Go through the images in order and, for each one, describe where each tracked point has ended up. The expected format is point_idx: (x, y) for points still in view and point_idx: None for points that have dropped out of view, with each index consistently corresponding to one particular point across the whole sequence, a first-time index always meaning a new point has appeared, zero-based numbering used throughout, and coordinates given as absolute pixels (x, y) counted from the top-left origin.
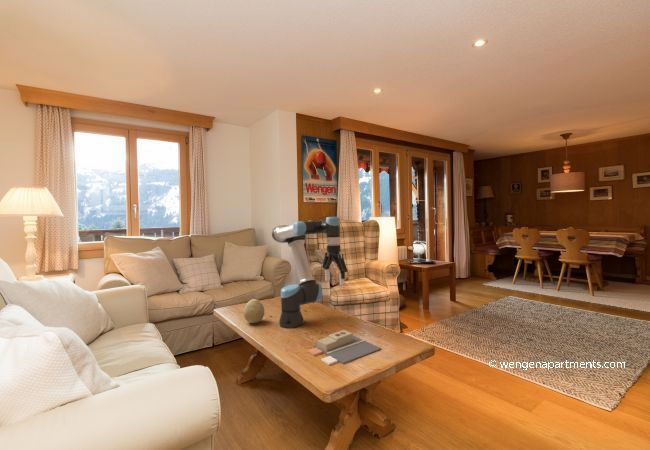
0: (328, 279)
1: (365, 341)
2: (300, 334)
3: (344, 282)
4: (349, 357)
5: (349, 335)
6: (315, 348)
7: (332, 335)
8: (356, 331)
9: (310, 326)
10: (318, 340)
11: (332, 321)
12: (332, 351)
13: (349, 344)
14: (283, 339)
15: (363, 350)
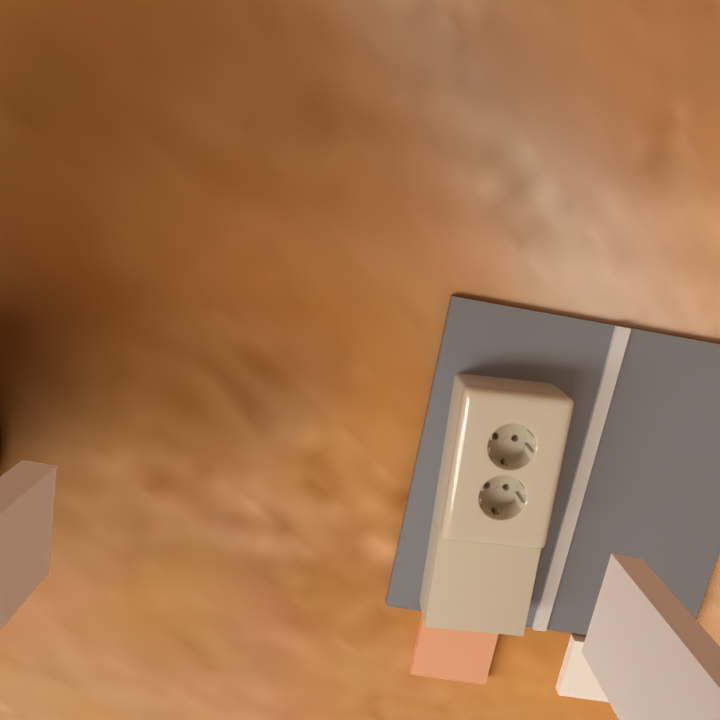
0: (37, 519)
1: (635, 335)
2: (149, 523)
3: (664, 587)
4: (680, 582)
5: (566, 434)
6: (433, 629)
7: (475, 531)
8: (445, 198)
9: (64, 364)
10: (430, 620)
11: (106, 140)
12: (552, 597)
13: (569, 446)
14: (137, 648)
15: (701, 459)
